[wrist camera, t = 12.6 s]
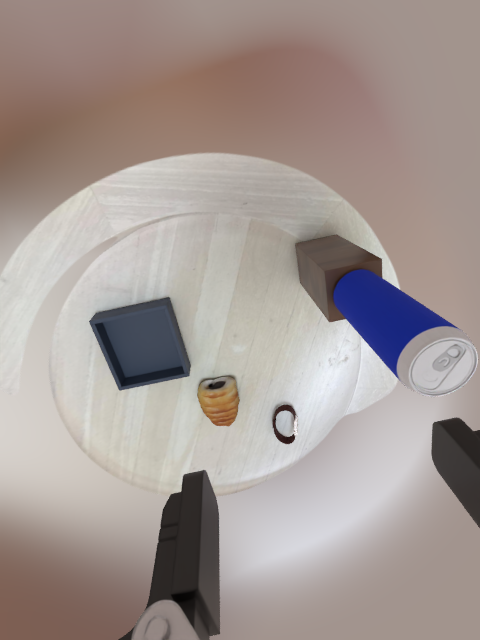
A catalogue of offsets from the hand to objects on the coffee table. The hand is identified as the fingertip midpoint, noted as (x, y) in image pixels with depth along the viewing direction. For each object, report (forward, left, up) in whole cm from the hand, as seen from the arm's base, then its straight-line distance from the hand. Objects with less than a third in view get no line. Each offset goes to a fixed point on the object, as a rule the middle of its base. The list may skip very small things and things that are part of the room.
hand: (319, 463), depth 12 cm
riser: (+5, +10, -38) cm, 40 cm away
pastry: (+25, -9, -38) cm, 46 cm away
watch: (+33, +1, -38) cm, 50 cm away
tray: (+12, -18, -38) cm, 44 cm away
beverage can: (+5, +10, -24) cm, 27 cm away
